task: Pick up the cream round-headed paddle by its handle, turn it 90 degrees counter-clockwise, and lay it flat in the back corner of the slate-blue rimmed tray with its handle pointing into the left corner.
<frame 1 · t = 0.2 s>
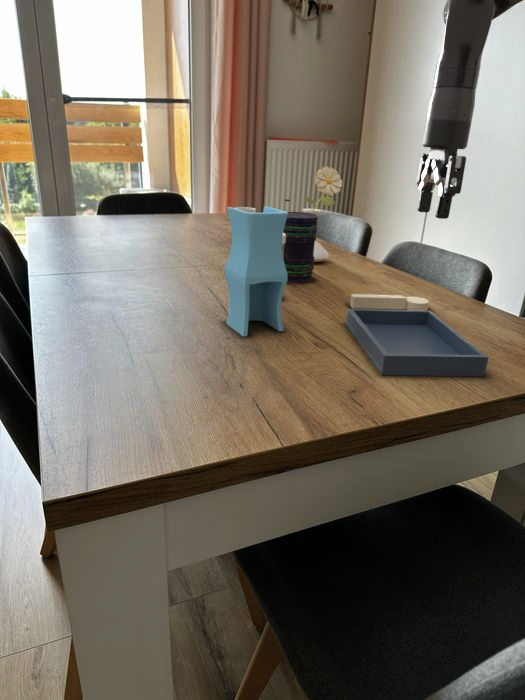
hand: (431, 215, 95), 19 cm above the table, tool pointing down, fingers open, 8 cm apart
sprinkles bottle: (270, 298, 108), on the table
drinking glass: (244, 240, 167), on the table
tray: (407, 347, 85), on the table
vase: (253, 327, 91), on the table
storage jar: (292, 278, 124), on the table
flower in vase: (310, 261, 143), on the table
cream round-headed paddle: (389, 307, 105), on the table
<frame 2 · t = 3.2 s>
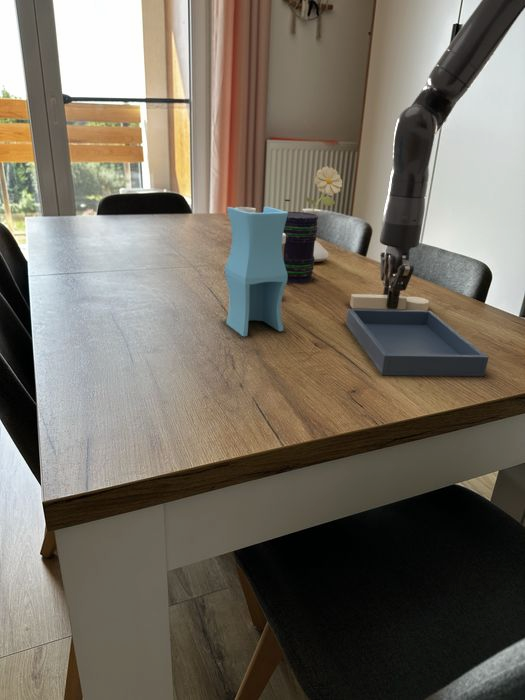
hand: (389, 305, 105), 0 cm above the table, tool pointing down, fingers closed on cream round-headed paddle, 2 cm apart
cream round-headed paddle: (389, 307, 105), on the table, touching gripper
everything else where it was.
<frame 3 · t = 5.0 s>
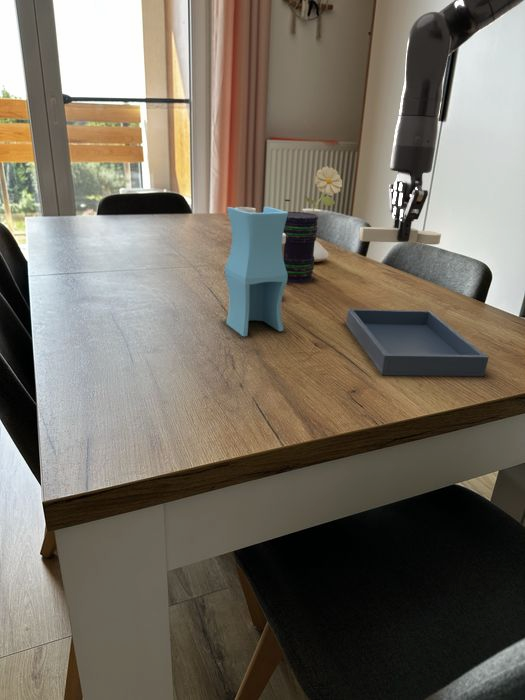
hand: (399, 239, 100), 14 cm above the table, tool pointing down, fingers closed on cream round-headed paddle
cream round-headed paddle: (399, 241, 100), point 14 cm above the table, touching gripper
everything else where it was.
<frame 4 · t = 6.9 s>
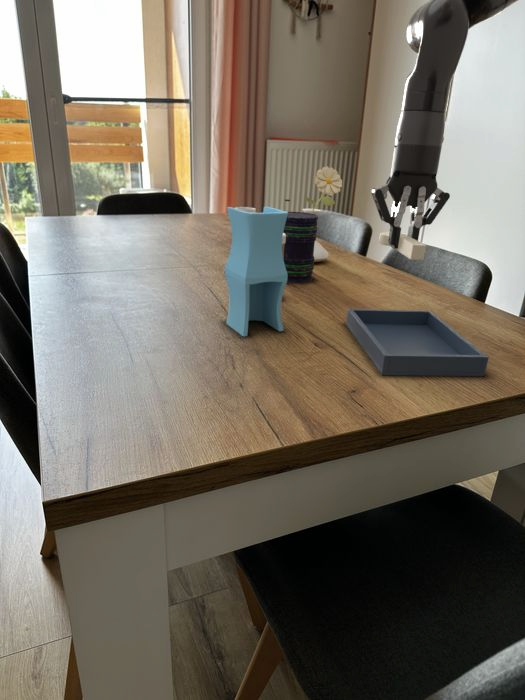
hand: (401, 247, 91), 14 cm above the table, tool pointing down, fingers closed on cream round-headed paddle
cream round-headed paddle: (401, 249, 91), point 14 cm above the table, touching gripper
everything else where it was.
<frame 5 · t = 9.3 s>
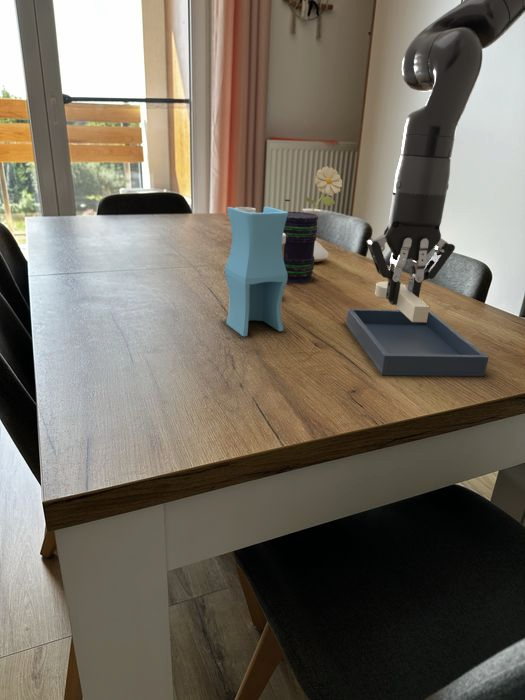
hand: (401, 303, 81), 8 cm above the table, tool pointing down, fingers closed on cream round-headed paddle
cream round-headed paddle: (400, 305, 81), point 7 cm above the table, touching gripper
everything else where it was.
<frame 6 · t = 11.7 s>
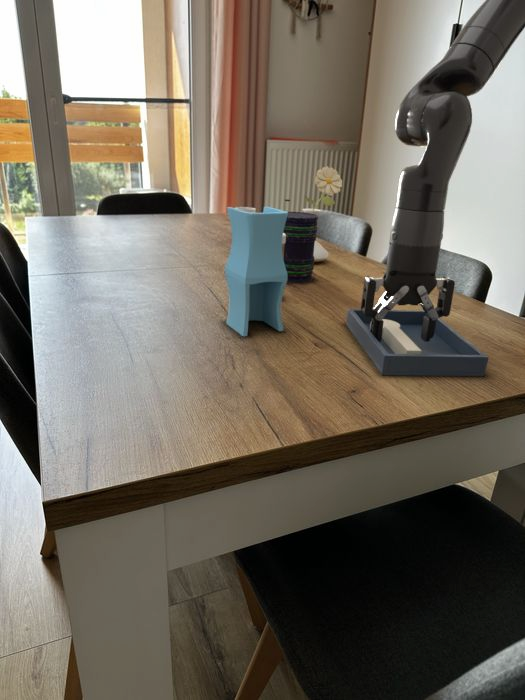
hand: (400, 340, 84), 2 cm above the table, tool pointing down, fingers open, 7 cm apart
cream round-headed paddle: (394, 345, 84), point 1 cm above the table, touching tray
everything else where it was.
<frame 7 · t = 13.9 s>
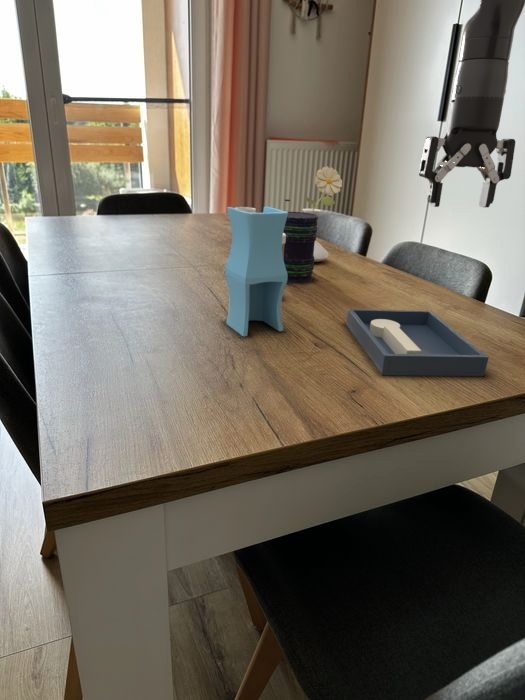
hand: (459, 206, 84), 22 cm above the table, tool pointing down, fingers open, 8 cm apart
nothing on the table moved.
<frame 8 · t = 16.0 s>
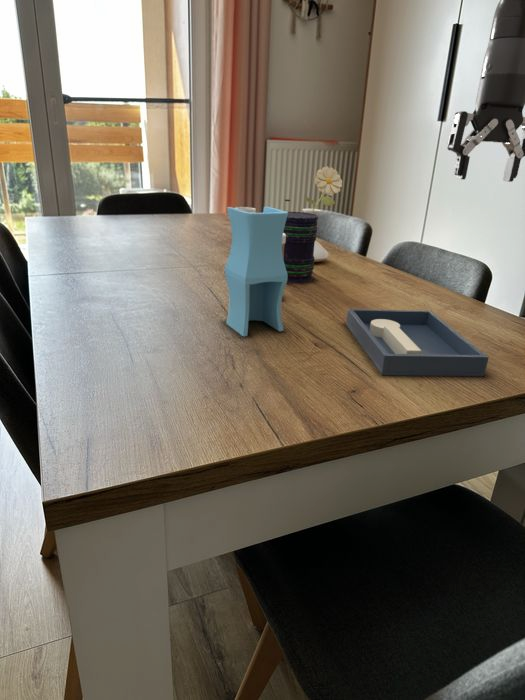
hand: (484, 180, 88), 26 cm above the table, tool pointing down, fingers open, 8 cm apart
nothing on the table moved.
at the end: cream round-headed paddle 0.1 cm from the target spot in the tray, point 0.6 cm above the tray's base; cream round-headed paddle tilted 0°; the gripper is holding nothing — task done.
